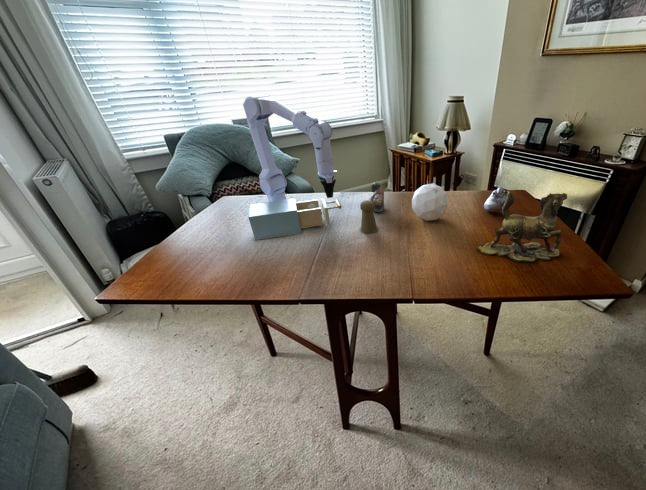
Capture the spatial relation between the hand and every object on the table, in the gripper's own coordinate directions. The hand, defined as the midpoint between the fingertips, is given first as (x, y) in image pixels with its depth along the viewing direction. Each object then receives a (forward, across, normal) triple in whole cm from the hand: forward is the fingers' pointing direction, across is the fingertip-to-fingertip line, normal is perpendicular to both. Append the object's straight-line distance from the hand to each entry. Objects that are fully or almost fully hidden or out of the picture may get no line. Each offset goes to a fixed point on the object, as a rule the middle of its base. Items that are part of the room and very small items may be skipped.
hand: (329, 196), depth 117 cm
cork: (+11, -12, -12) cm, 20 cm away
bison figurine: (+11, +6, -20) cm, 23 cm away
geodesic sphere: (+11, -12, -37) cm, 40 cm away
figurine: (+11, -46, -53) cm, 71 cm away
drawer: (+10, 0, +7) cm, 12 cm away
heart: (+11, -16, -64) cm, 67 cm away
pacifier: (+9, -1, +8) cm, 11 cm away
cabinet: (+10, 0, +21) cm, 24 cm away
